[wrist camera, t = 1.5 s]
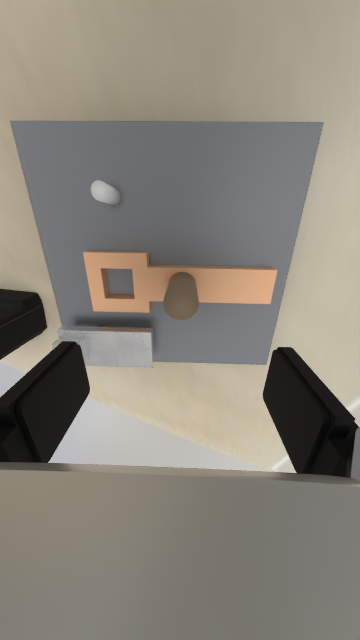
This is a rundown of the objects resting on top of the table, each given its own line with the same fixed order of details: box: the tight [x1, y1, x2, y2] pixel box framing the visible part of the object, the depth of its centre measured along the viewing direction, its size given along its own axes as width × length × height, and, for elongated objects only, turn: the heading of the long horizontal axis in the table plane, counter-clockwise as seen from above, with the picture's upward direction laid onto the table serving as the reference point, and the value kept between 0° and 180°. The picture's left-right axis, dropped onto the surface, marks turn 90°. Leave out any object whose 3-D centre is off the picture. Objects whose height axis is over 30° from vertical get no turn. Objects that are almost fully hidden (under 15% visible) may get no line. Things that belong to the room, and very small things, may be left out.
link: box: [83, 251, 277, 320], centre depth 22 cm, size 22×7×8 cm, turn 89°
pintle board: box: [10, 121, 324, 365], centre depth 23 cm, size 27×29×5 cm
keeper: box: [52, 323, 154, 368], centre depth 27 cm, size 5×11×7 cm, turn 89°
